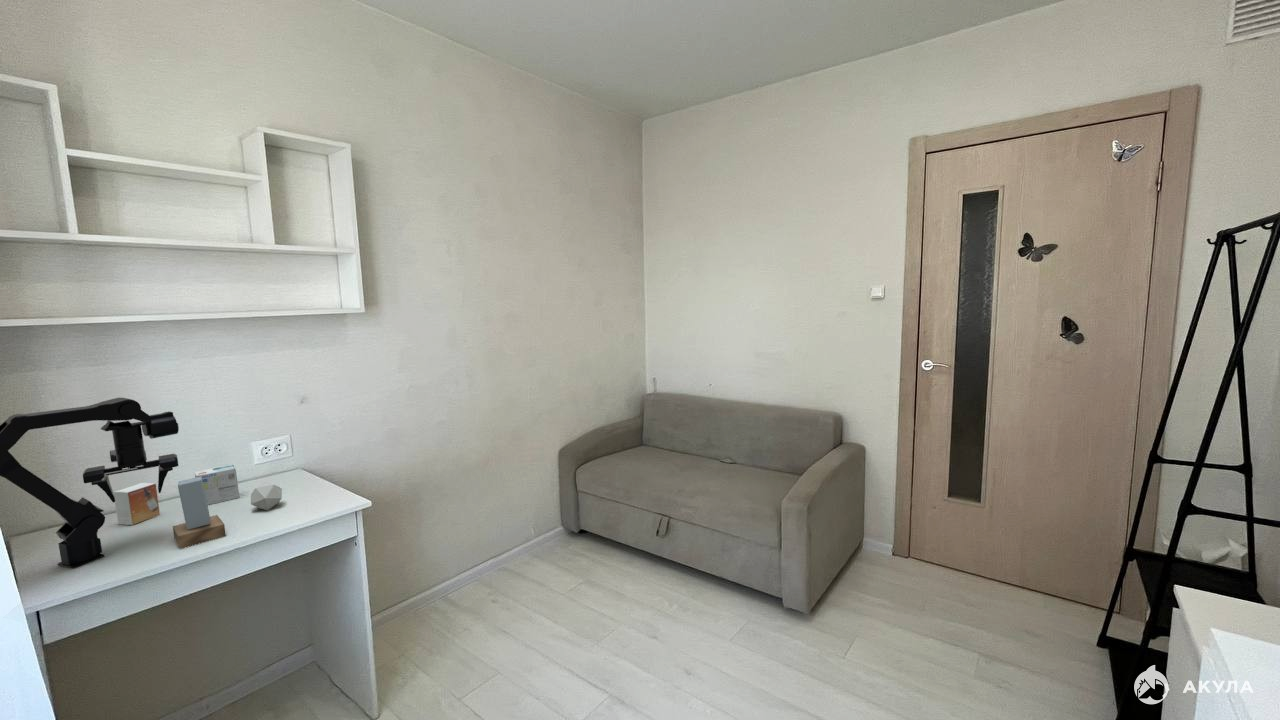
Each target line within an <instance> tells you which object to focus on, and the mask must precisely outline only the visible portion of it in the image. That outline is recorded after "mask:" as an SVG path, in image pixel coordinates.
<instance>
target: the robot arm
mask: <svg viewBox="0 0 1280 720" xmlns="http://www.w3.org/2000/svg"><path fill="white" fill-rule="evenodd" d="M131 420H136V421H138V422H130V421H131ZM93 421H103V422H105V421H106V423H105V424H104V425H102V426H101V427H100V430H101V431H103V432H112V439H113V444H114V445H113V446H114V449H113V450H109V459H110V462H111V463H116V464H117V466H114V467H107V468H106V465H100V466H93V467H88V468H86V469H85V470H84V471H83V473H82V481H83V484H91V486H96V485H97V487H99V488H100V489H101V490H102V491H103V492H104V493H105V494H106V496H108V498H109V500H110V501H111V502H112V503H114V504H115V496H114V490H113V488H112V485H111V481H110V479H109V476H111V475H118V474H123V473H128V472H133V471H134V472H135V471H139V470H145V469H151V468H156V467H158V475H157V476H158V478H157V479H158V480H157V483H158V484H157V491H158V494H161V493H162V488H163V485H164V482H165V479H166V477H167V475H168V472H170V471H173V470H174V468H177V467H178V466H179V459H178V454H176V453H169V454H164V455H158V459H154V460H148V459H147V453H146V452H147V451H146V450H145V445H144V438H143V435H144V437H149V439H152V440H153V439H157V438H163V437H167V436H173V435H174V436H175V435H177V434H178V433H179V430H180V428H179V423H178V422H177V419H176V417H175V416H174V412H172V411H164V412H161V413H157V414H148V413H146V411H143V410H142V406H141V405H140V403H139V402H138V401H136V400H134V399H132V398H126V397H115V398H112V399H107V400H104V401H100V402H97V403H94V404H91V405H85V406H77V407H70V408H63V409H54V410H45V411H37V412H30V413H16V414H15V413H14V414H12V415H10V416H9V417H7V419H6V420H5V421H3V422H2V423H1V424H0V477H1V478H4V479H6V480H8V481H9V482H10V483H12V484H13V485H15V486H17V487H18V488H20V489H21V490H23V491H24V492H27V493H28V494H29V495H31V496H32V497H33V498H35V499H36V500H39V502H41V503H43V504H45V505H46V506H47V507H49V508H51V509H52V510H54V511H55V512H56V514H57V515H58V516H59V517H60V518H61V519H62V520H63V521H64V522H65V523H64V524H62V526H60V527H59V529H57V530H56V532H55V534H56V535H57V537H59V538H60V540H63V541H61V542H58V544H57V545H58V550H59V555H60V561H61V562H57V566H61V567H64V568H70V569H75V568H78V567H80V566H83V565H86V564H88V563H91V562H94V561H95V560H99V559H101V558H103V557H105V554H104V553H103V548H102V543H101V541H102V540H101V538H100V537H98V532H99V529H101V528H102V527H103V526H104V524H105V522H106V516H105V515H104V514H103V513H102V512H104V509H102V508H100V507H99V506H97V505H94V503H92V502H91V501H90V500H88V499H87V498H85V497H84V496H83V497H81V498H80V499H79V500H75V499H73V498H70V497H68V496H67V495H66V494H64V493H62V492H61V491H59V490H58V489H56V488H55V487H53V486H52V485H50V484H49V483H48V482H46V481H45V480H43V479H41V477H39V476H37V475H35V474H34V473H33V472H31V471H30V470H28V469H27V468H25V467H24V466H23V465H22V464H21V463H19V461H18V460H17V459H16V458H15V457H14V456H13V455H12V454H11V452H9V450H10V449H12V447H14V446H15V445H16V444H17V443H18V441H20V439H21V438H22V437H23V436H24V435H25V434H26V433H27V432H28V431H30V430H37V429H44V428H51V427H59V426H65V425H71V424H79V423H85V422H86V423H87V422H93ZM114 421H115V422H114ZM116 421H117V422H116ZM118 421H119V422H118ZM147 460H148V461H147Z"/></svg>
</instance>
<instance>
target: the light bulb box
mask: <svg viewBox="0 0 1280 720" xmlns="http://www.w3.org/2000/svg"><path fill="white" fill-rule="evenodd" d="M237 475H238V474H237V469H236V467H235V465H234V464H233V463H232V464H226V465H221V466H215V467H212V468H206V469H202V470H197V471H196V470H195V471H194V476H195V477H194V478H196V477H201V476H202V481H203V486H204V490H205V495H206V500H207V505H208V506H209V505H213V504H217V503H222V502H226V501H229V500H235V499H238V498H239V499H240V489H239V483H238V476H237Z"/></svg>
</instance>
